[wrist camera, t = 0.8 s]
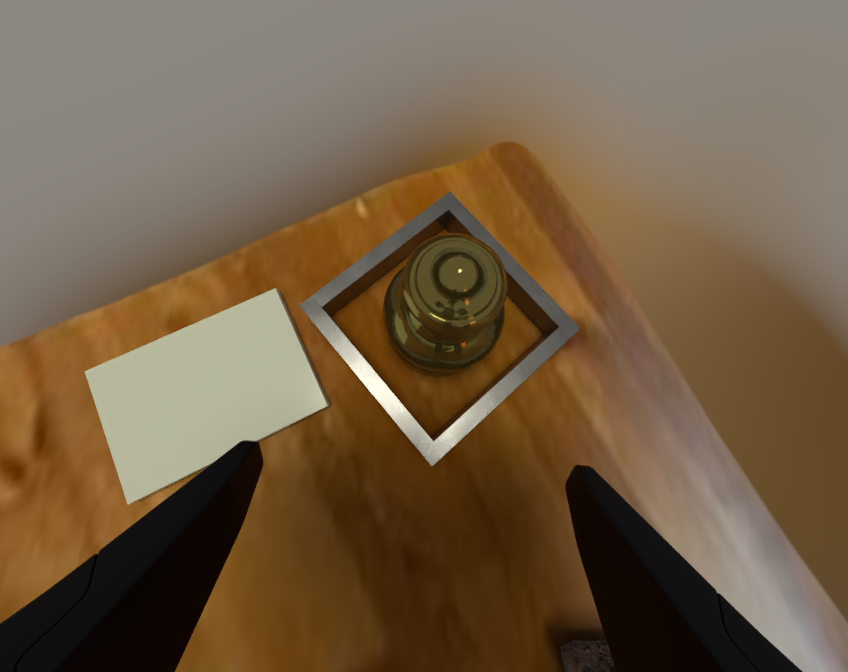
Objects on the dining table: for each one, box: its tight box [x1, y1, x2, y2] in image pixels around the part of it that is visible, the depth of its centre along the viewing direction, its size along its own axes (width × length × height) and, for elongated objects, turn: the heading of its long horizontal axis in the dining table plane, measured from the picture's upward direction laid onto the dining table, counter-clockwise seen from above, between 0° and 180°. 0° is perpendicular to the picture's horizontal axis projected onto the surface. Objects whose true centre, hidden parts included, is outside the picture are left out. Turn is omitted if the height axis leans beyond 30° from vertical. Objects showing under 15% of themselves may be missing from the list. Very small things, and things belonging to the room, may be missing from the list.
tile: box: [85, 288, 330, 504], centre depth 22 cm, size 13×9×1 cm
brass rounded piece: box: [383, 233, 508, 376], centre depth 19 cm, size 7×8×10 cm
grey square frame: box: [299, 192, 580, 466], centre depth 23 cm, size 13×13×2 cm
